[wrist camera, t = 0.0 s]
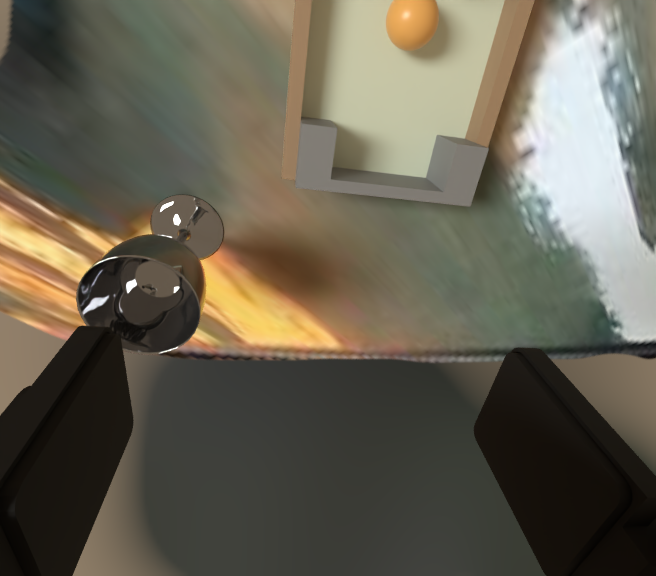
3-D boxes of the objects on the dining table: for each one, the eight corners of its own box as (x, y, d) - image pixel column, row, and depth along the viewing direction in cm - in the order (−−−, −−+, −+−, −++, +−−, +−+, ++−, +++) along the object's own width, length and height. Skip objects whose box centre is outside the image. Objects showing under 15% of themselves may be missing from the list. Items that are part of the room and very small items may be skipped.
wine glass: (187, 173, 37) (133, 232, 24) (243, 235, 40) (224, 316, 27) (128, 222, 38) (49, 301, 26) (187, 277, 42) (144, 372, 29)
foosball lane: (306, -155, 27) (311, -207, 22) (542, -98, 29) (597, -132, 24) (281, 169, 37) (281, 186, 32) (457, 189, 40) (482, 207, 35)
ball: (386, -13, 30) (399, -23, 27) (434, -3, 31) (453, -12, 27) (376, 47, 32) (387, 45, 29) (422, 55, 33) (438, 54, 29)
